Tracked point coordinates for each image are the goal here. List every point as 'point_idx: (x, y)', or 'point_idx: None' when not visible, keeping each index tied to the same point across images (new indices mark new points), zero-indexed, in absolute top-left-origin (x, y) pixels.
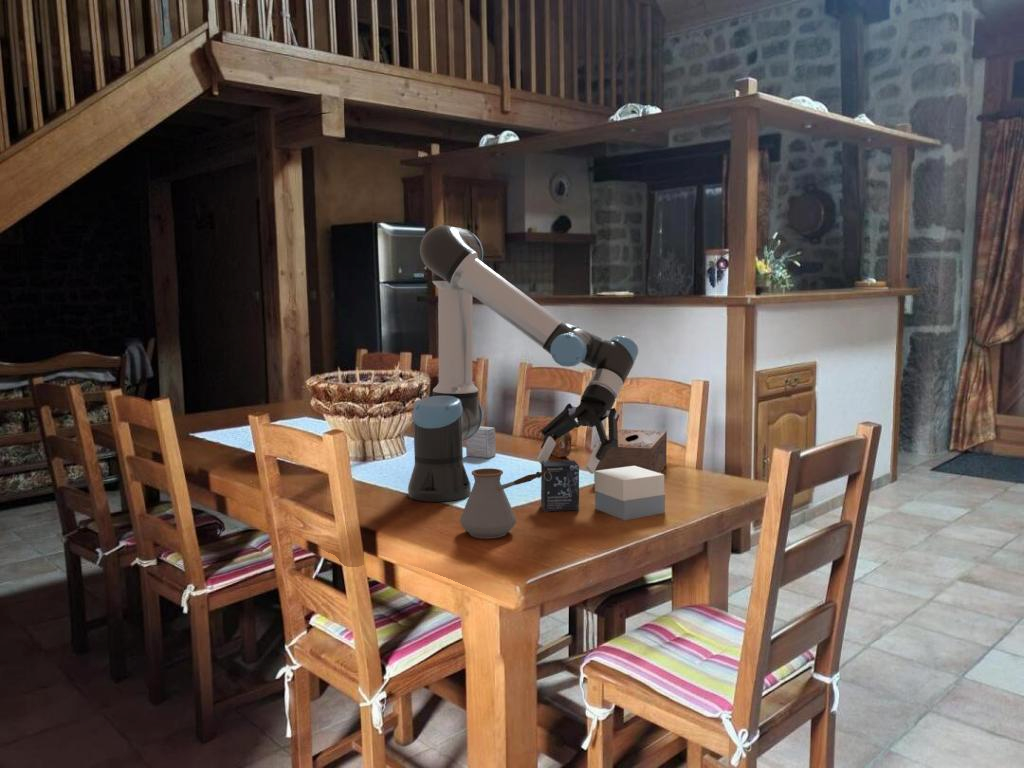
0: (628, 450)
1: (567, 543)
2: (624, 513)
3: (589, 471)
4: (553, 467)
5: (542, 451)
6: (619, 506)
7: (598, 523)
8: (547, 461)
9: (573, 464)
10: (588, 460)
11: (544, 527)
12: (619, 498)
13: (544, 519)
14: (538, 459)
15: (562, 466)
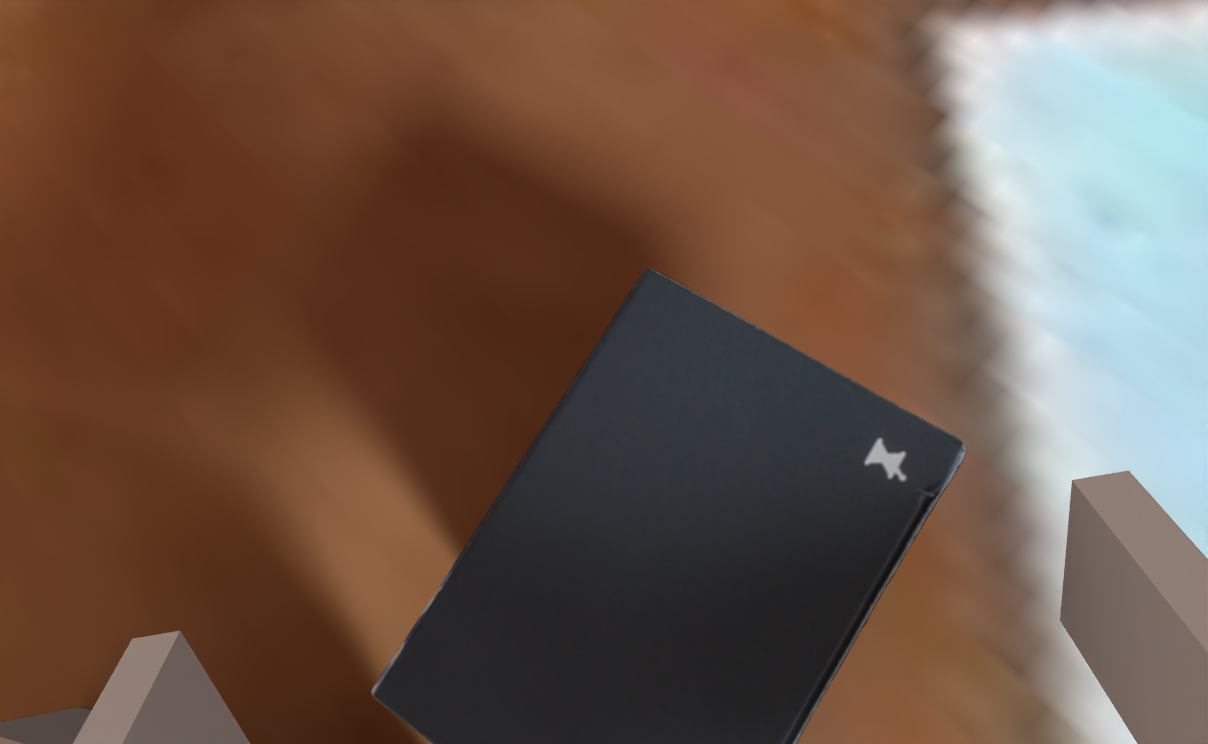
0: None
1: (73, 43)
2: (41, 716)
3: (225, 718)
4: (585, 364)
5: (1182, 591)
6: (71, 739)
7: (177, 486)
8: (872, 492)
9: (447, 654)
10: (130, 725)
11: (392, 140)
12: (5, 742)
13: (533, 263)
14: (1095, 486)
15: (513, 475)
